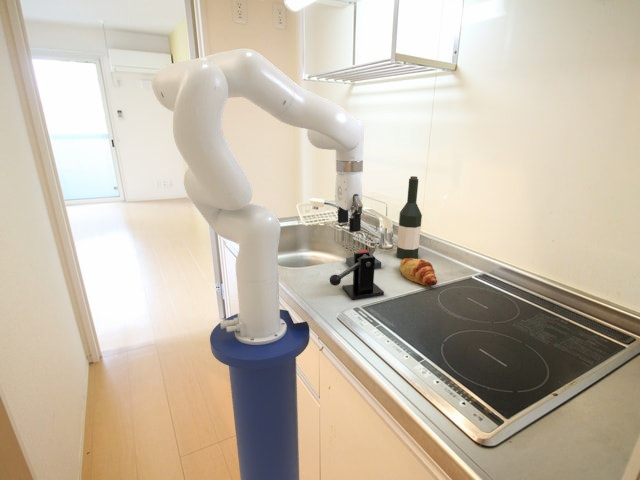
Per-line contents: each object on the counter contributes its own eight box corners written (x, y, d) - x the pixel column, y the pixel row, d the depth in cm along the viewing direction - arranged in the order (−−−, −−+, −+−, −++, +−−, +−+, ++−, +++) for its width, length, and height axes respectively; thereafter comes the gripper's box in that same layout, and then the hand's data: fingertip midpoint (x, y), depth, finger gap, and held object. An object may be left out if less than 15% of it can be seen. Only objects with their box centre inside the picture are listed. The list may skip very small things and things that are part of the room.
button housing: (354, 271, 122) (354, 260, 121) (346, 263, 129) (346, 253, 128) (381, 268, 126) (381, 257, 125) (371, 260, 133) (371, 250, 132)
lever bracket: (352, 300, 102) (353, 261, 98) (342, 289, 109) (343, 252, 105) (383, 295, 105) (386, 257, 101) (372, 285, 112) (374, 248, 108)
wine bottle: (420, 255, 140) (428, 176, 130) (414, 261, 133) (422, 178, 123) (399, 251, 143) (405, 174, 133) (393, 258, 136) (399, 177, 126)
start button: (361, 258, 124) (361, 253, 124) (356, 255, 127) (357, 250, 127) (370, 257, 125) (370, 252, 125) (366, 254, 129) (366, 249, 128)
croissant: (394, 275, 129) (385, 258, 125) (417, 261, 130) (409, 242, 126) (426, 300, 110) (417, 280, 106) (452, 282, 111) (445, 262, 108)
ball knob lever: (334, 289, 101) (329, 281, 100) (331, 285, 104) (326, 276, 103) (372, 264, 103) (368, 255, 102) (368, 260, 106) (363, 252, 104)
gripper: (326, 164, 106) (327, 220, 113) (347, 171, 91) (347, 236, 98) (350, 163, 109) (350, 218, 115) (374, 170, 94) (372, 233, 100)
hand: (348, 226), depth 106 cm, fingers open, 9 cm apart
